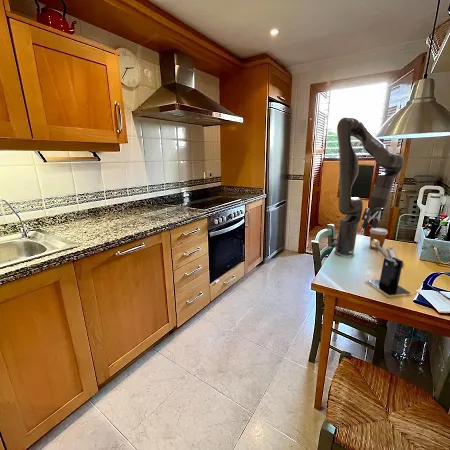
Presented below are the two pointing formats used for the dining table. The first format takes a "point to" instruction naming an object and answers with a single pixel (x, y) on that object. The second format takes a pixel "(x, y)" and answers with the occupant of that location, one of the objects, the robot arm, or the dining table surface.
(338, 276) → the dining table surface
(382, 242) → the disposable coffee cup
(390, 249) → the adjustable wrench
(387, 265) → the bracket
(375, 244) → the lever
